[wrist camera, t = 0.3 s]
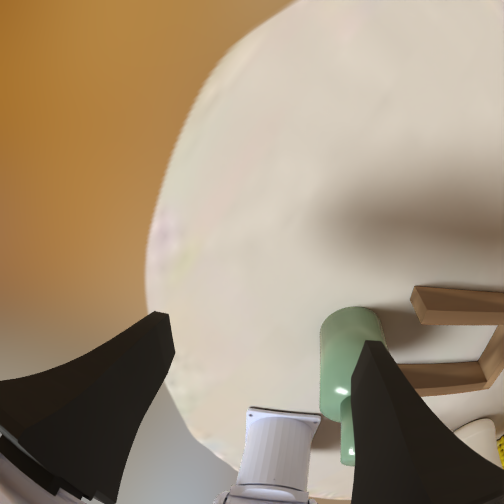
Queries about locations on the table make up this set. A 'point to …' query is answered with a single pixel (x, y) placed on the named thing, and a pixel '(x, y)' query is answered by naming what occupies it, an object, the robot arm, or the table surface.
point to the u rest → (458, 313)
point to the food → (501, 450)
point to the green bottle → (344, 367)
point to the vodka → (481, 441)
